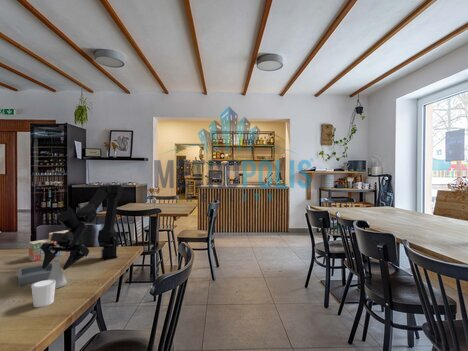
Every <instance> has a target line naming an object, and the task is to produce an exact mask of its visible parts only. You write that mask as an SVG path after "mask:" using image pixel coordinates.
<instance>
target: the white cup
mask: <svg viewBox="0 0 468 351" xmlns="http://www.w3.org/2000/svg"><path fill="white" fill-rule="evenodd" d="M55 283H56V281H55V280H52V279H49V280H42V281H38V282H34V283H31V294H32V303H33V307H35V308H43V307H46V306H49V305H51V304H53V303H54V301H55V291H56V289H55Z"/></svg>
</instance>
